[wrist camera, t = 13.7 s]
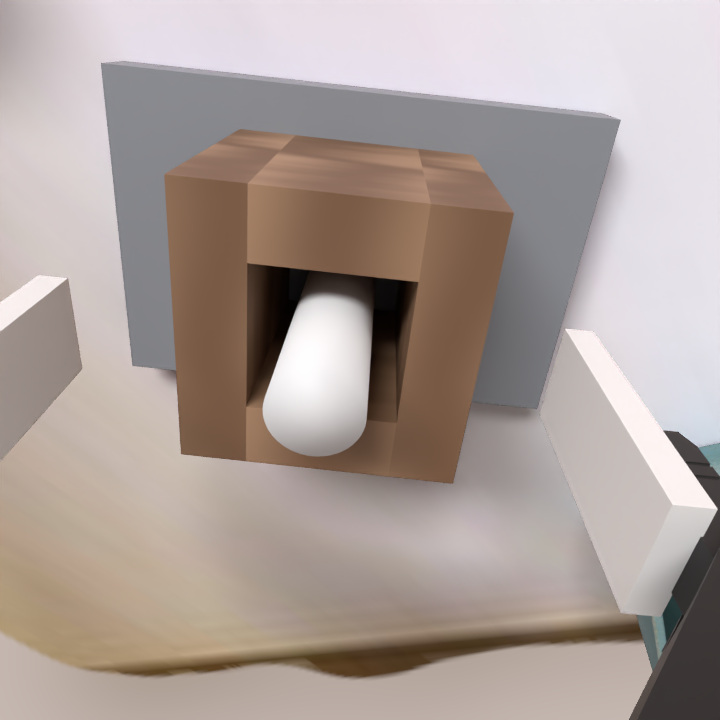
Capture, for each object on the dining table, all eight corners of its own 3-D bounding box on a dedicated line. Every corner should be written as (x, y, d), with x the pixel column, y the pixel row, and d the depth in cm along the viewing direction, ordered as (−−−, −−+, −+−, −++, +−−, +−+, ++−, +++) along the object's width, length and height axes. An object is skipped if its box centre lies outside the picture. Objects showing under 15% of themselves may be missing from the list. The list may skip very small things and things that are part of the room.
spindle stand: (149, 344, 28) (-21, 559, 16) (124, 61, 22) (-165, 85, 11) (527, 385, 28) (622, 626, 16) (602, 113, 22) (828, 193, 11)
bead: (239, 337, 25) (181, 454, 18) (239, 128, 21) (163, 174, 14) (435, 359, 25) (452, 483, 18) (473, 155, 21) (513, 212, 14)
